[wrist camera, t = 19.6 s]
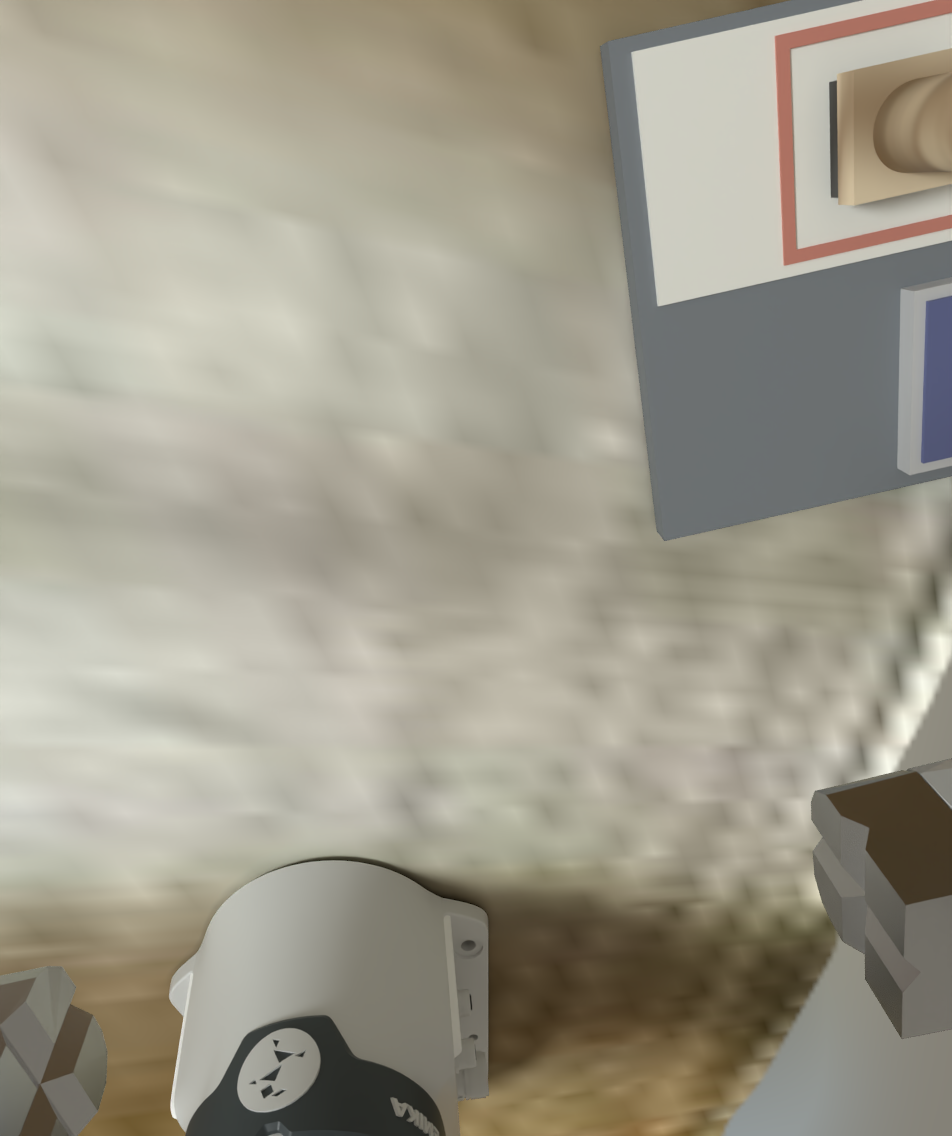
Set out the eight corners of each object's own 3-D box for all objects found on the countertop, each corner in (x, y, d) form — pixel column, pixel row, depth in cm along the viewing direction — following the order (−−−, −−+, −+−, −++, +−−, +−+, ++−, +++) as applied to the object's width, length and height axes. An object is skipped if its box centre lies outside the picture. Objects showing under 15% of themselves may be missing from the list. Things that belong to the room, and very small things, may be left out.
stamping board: (1067, 438, 40) (1106, 453, 38) (656, 531, 40) (672, 551, 37) (1123, -71, 31) (1179, -90, 29) (600, 46, 31) (616, 36, 29)
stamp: (934, 179, 33) (1089, 179, 26) (826, 203, 33) (950, 210, 26) (939, 51, 31) (1107, 11, 24) (823, 77, 31) (957, 44, 24)
